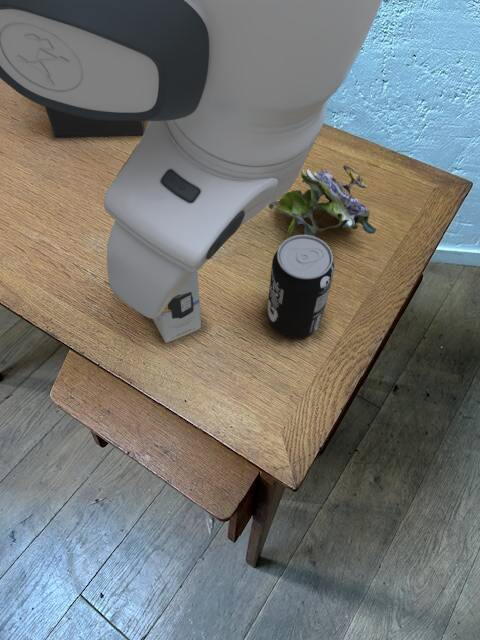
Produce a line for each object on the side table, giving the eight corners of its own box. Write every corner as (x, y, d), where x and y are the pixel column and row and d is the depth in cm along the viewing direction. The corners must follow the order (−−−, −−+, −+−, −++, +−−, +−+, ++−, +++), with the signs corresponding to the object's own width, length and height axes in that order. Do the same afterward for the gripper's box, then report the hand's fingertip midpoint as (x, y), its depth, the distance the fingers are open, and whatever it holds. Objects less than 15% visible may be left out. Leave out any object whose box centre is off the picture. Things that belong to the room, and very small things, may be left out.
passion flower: (336, 246, 80) (399, 219, 70) (286, 277, 74) (346, 253, 64) (300, 176, 79) (359, 138, 69) (247, 202, 73) (302, 165, 63)
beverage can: (258, 305, 68) (263, 240, 58) (307, 290, 69) (320, 224, 59) (279, 349, 64) (288, 288, 54) (329, 332, 66) (348, 270, 56)
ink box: (137, 291, 68) (121, 227, 59) (173, 277, 70) (163, 211, 60) (165, 344, 64) (153, 285, 55) (202, 328, 66) (198, 267, 56)
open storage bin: (55, 137, 84) (37, 84, 76) (65, 84, 91) (50, 30, 83) (143, 135, 84) (135, 82, 77) (146, 82, 92) (139, 29, 84)
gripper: (283, 6, 36) (243, 138, 49) (82, 217, 29) (96, 307, 42) (362, 60, 36) (301, 178, 49) (179, 286, 29) (164, 356, 41)
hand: (205, 239), depth 45 cm, fingers open, 8 cm apart
